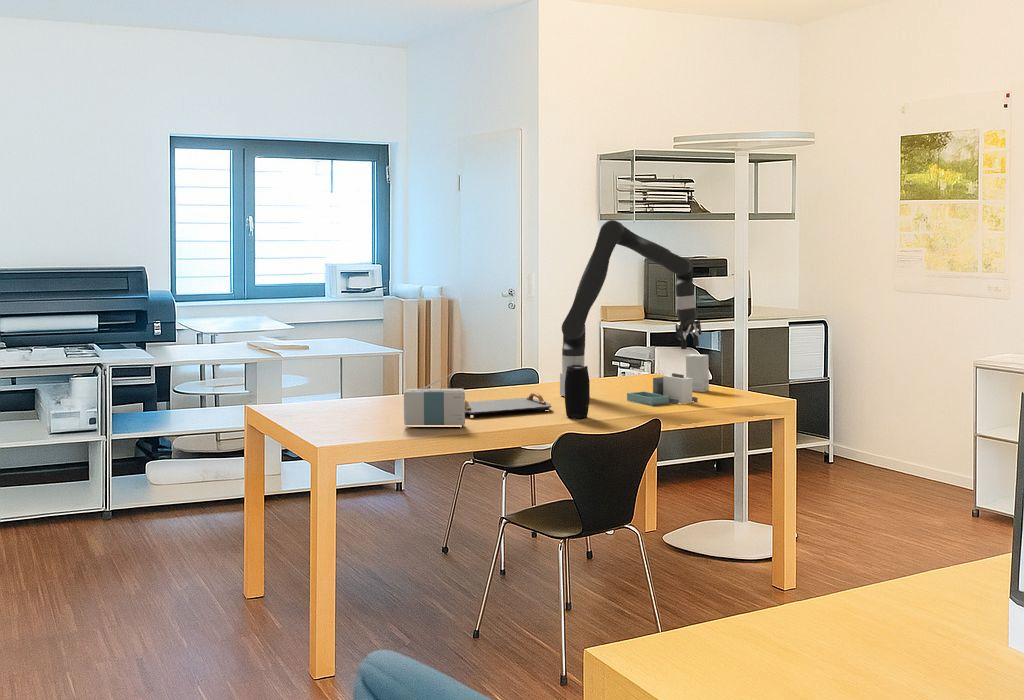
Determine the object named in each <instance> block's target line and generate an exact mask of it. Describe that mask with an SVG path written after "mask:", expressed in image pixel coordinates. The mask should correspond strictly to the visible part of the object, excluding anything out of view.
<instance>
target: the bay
mask: <svg viewBox="0 0 1024 700" xmlns="http://www.w3.org/2000/svg"><path fill="white" fill-rule="evenodd" d="M652 393H655V394H660V395H663V376H657V377H652ZM692 401H694V402H693V403H695V402H698V397H696V396H692ZM678 402H679V400H678V399H673V398H669V404H671V405H675V404H676V405H677V404H678ZM678 405H679V404H678Z"/></svg>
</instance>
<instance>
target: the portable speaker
mask: <svg viewBox="0 0 1024 700" xmlns="http://www.w3.org/2000/svg"><path fill="white" fill-rule="evenodd" d="M588 369H589V368H588V365H584V366H581V365H571V366H567V370H566V377H565V397H564V407H565V414H566V415H565V416H566V417H567V416H570V417H569V418H571V419H572V418H583V417H584V416H585V417H584V418H588V415H589V407H590V399H591V397H590V394H591V393H590V391H591V390H590V383H591V382H590V376H589V375H590V374H589V370H588Z"/></svg>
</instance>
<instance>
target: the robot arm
mask: <svg viewBox="0 0 1024 700" xmlns="http://www.w3.org/2000/svg"><path fill="white" fill-rule="evenodd" d="M616 245H619V246H621V247H622V246H623V247H625V248H628V249H630V250H632V251H634V252H636V254H638V255H640V256H642V257H644V258H646V259H648V260H649V261H651V262H653V263H654V264H657V265H659V266H661V267H663V268H666V269H667V270H668V271H670V272H671V273H673V274H675V275H676V283H675V296H676V301H675V302H676V303H675V304H676V314H677V319H678V321H680V323H676V324H675V338H676V339H677V340H679V341H680V349H681V350H687V348H688V347H687V336H688V335H689V334H691V336H692V344H693V347H699V346H700V341H699V337H700V335H702V326H701V320H700V319H697V317H698V315H697V304H696V297H695V290H694V289H695V288H694V282H693V281H694V266H693V262H692V260H690V259H689V257H685V256H684V257H683V256H680V255H678V254H675V253H674V252H672V251H671V250H669V249H668V248H667V247H665V246H662V245H660V244H658V243H656V242H653V241H652V240H648V239H646V238H644V237H642V236H640V235H638V234H636V233H634V232H633V231H631V230H630V229H629V228H627V227H626V226H625V225H623V223H622V222H619V220H618V221H617V220H614V219H610V220H609V219H608V220H606V221H605V222H604V223H602V225H601V227H600V229H599V231H598V236H597V239H596V243H595V246H594V248H593V251H592V254H591V255H590V258H589V259H588V262H587V264H586V267H585V268H584V270H583V273H582V276H581V278H580V281H579V283H578V287H577V288H576V289H577V290H576V292H575V296H574V299H573V302H572V305H571V308H570V309H569V311H568V313H567V314H566V317H565V318H564V320H563V322H562V324H561V332H562V349H561V351H562V353H561V354H562V355H561V356H562V357H561V364H562V365H561V373H560V374H559V375H560V376H559V396H560V395H561V396H560V397H562V396H564V397H563V398H565V377H566V370H567V366H571V365H581V366H585V354H586V353H585V350H586V322H587V318H588V316H589V313H590V310H591V308H592V306H593V305H594V303H595V302H596V301H597V298H598V297H599V295H600V292H601V291H602V288H603V286H604V283H605V281H606V277H607V274H608V269H609V265H610V260H611V256H612V253H613V251H614V250H615V247H616Z"/></svg>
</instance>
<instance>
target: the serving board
mask: <svg viewBox="0 0 1024 700" xmlns="http://www.w3.org/2000/svg"><path fill="white" fill-rule="evenodd" d="M534 397H536V398H537V399H536V398H534ZM550 408H552V405H551V403H549V402H547V401H545V400H544V398H543V396H542V395H541V394H540V393H536V392H533V393H530V394H529V395H528V396H527V397H519V398H517V397H516V398H506V399H505V398H504V399H492V400H491V399H490V400H489V399H488V400H480V401H478V400H477V401H468V400H467V399H465V414H470V415H475V414H487V413H499V412H501V413H502V412H513V411H525V410H536V409H537V410H538V409H543V411H544V410H549V411H550Z"/></svg>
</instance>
